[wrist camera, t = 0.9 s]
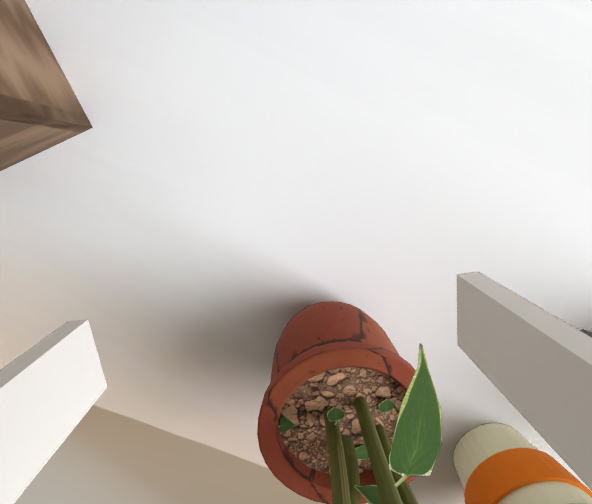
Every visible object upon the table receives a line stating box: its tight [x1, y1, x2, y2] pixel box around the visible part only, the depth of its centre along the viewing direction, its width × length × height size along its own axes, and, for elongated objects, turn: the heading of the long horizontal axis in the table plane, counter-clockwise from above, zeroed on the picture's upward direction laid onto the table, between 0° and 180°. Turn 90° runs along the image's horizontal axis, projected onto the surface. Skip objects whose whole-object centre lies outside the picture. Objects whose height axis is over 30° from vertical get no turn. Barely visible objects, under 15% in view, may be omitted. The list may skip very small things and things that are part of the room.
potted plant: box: [257, 301, 442, 504], centre depth 23 cm, size 17×16×35 cm
